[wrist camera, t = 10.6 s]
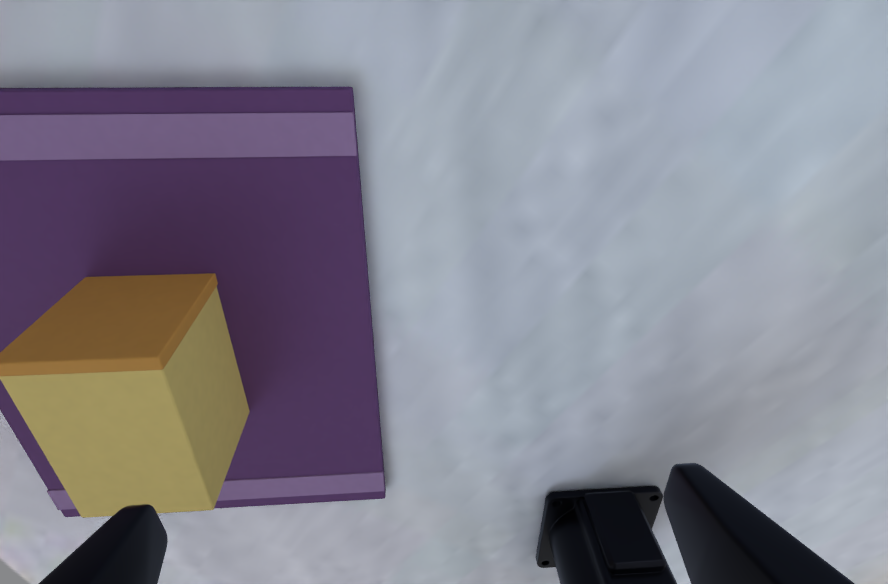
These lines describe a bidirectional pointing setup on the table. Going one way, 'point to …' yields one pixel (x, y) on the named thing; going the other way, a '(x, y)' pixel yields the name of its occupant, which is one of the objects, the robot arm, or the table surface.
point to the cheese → (132, 392)
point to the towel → (211, 256)
